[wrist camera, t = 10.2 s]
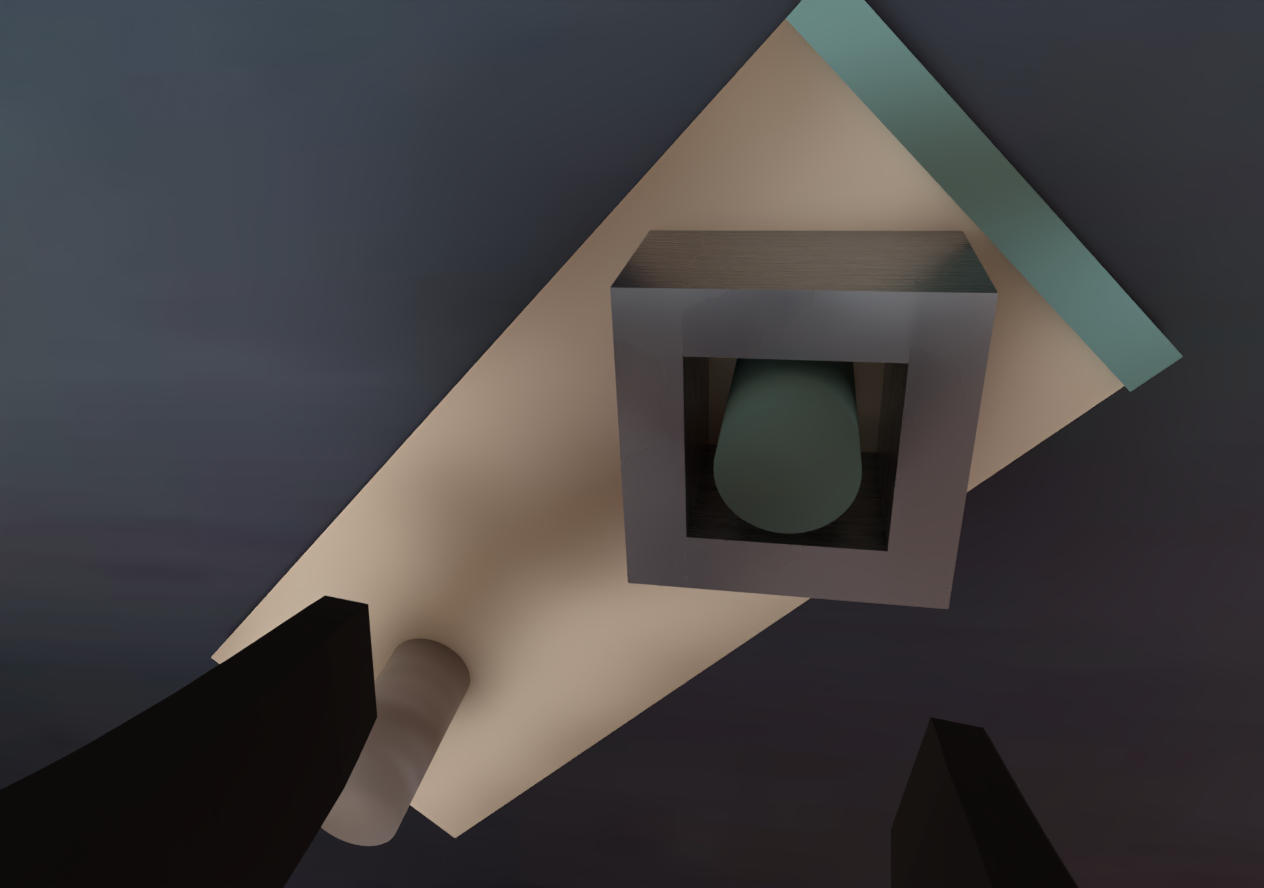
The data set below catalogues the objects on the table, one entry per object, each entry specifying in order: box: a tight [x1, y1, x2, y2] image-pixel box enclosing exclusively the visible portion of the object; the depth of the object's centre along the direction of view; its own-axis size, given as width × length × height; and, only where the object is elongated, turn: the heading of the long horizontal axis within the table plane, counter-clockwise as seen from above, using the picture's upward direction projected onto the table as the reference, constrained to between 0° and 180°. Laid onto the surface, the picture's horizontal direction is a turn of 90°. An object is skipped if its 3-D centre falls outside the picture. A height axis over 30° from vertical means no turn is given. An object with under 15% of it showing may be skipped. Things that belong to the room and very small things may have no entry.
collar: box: [610, 230, 998, 609], centre depth 15 cm, size 6×6×4 cm
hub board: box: [211, 0, 1183, 846], centre depth 18 cm, size 9×23×5 cm, turn 138°
